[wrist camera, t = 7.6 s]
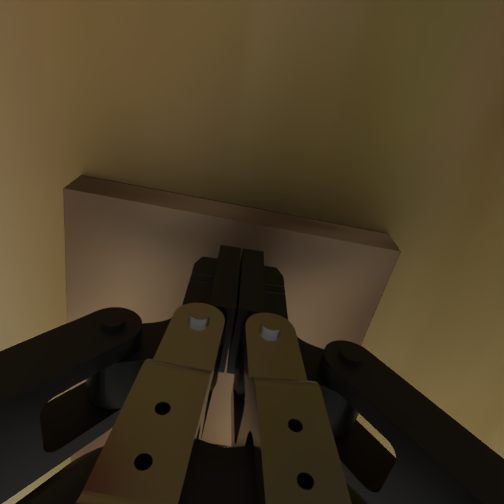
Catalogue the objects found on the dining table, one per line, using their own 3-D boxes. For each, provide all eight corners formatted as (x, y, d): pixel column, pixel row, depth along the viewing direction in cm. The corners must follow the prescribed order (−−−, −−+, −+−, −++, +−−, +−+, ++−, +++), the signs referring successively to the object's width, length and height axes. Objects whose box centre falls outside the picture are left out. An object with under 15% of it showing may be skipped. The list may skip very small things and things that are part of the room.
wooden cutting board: (388, 234, 15) (400, 251, 14) (275, 514, 25) (276, 540, 23) (81, 175, 14) (63, 188, 13) (83, 489, 24) (73, 515, 22)
